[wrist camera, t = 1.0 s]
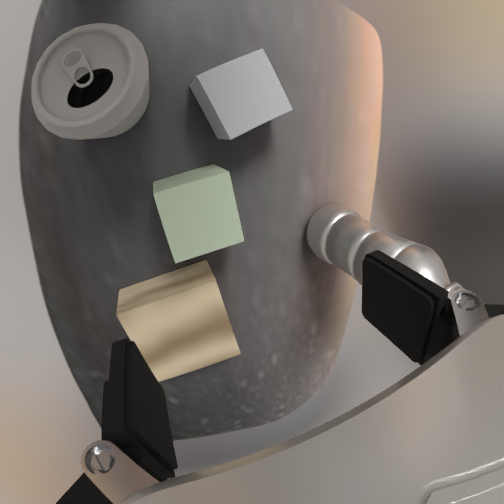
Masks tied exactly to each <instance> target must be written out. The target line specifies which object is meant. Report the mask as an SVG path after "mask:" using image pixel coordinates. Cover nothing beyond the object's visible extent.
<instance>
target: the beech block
mask: <svg viewBox="0 0 504 504" xmlns="http://www.w3.org/2000/svg"><path fill="white" fill-rule="evenodd" d="M116 315H117V317H118V319H119V321H120V323H121V324H122V326H123V328H124V330H125V331H126V333H127V335H128V336H129V338H130V340H131V341H134V342H135V343H136V345H137V347H138V349H139V350H140V352H141V354H142V356H143V357H144V359H145V361H146V362H147V364H148V366H149V367H150V369H151V371H152V372H153V374H154V376H155V377H156V379H157V380H158V382H160V381H163V380H166V379H170V378H173V377H176V376H179V375H182V374H185V373H188V372H191V371H194V370H197V369H200V368H203V367H206V366H209V365H212V364H215V363H217V362H220V361H223V360H226V359H229V358H231V357H234V356H237V355H239V354H241V353H240V350H239V347H238V344H237V342H236V339H235V336H234V333H233V330H232V327H231V324H230V321H229V318H228V315H227V312H226V309H225V306H224V303H223V300H222V297H221V294H220V291H219V288H218V285H217V282H216V279H215V277H214V275H213V273H212V271H211V268H210V266H209V264H208V262H207V260H203V261H201V262H198V263H195V264H192V265H189V266H186V267H183V268H180V269H177V270H175V271H172V272H169V273H166V274H163V275H160V276H157V277H155V278H152V279H149V280H146V281H143V282H140V283H137V284H135V285H132V286H129V287H126V288H123V289H120V290H119V296H118V304H117V312H116Z"/></svg>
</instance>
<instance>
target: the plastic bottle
mask: <svg viewBox="0 0 504 504" xmlns="http://www.w3.org/2000/svg"><path fill="white" fill-rule="evenodd" d="M307 241H308V244H309V246H310V248H311V249H312V251H313V252H314V253H315V255H316V256H317V257H318V258H320V259H321V260H323V261H325V262H327V263H329V264H331V265H334V266H336V267H338V268H339V269H341V270H343V271H344V272H346V273H348V274H349V275H351V276H352V277H353V278H354V279H355V280H357V281H358V282H359V283H360V284H361V285H362V261H363V259H364V257H365V255H366V254H368V253H371V252H373V251H375V250H380V251H381V252H383V253H385V254H387V255H389V256H390V257H392V258H394V259H396V260H397V261H399V262H401V263H402V264H404V265H406V266H408V267H409V268H411V269H413V270H414V271H416V272H418V273H419V274H421V275H423V276H424V277H426V278H428V279H429V280H431V281H433V282H434V283H436V284H438V285H439V286H441V287H442V288H444V289H446V290H447V291H449V293H448V298H449V299H451V297H452V295H453V294H454V293H455V292H458V291H463V290H464V291H467V290H465V289H463V288H462V286H461V285H459V284H458V283H456V282H452V283H450V281H449V278H448V275H447V272H446V269H445V267H444V265H443V263H442V261H441V259H440V258H439V256H438V255H437V254H436V253H435V252H434V251H433V250H432V249H431V248H428V247H426V246H424V245H421V244H418V243H415V242H412V241H409V240H406V239H403V238H399V237H397V236H395V235H393V234H390V233H388V232H385V231H384V230H381V229H379V228H377V227H376V226H374V225H373V224H371V223H370V222H368V221H367V220H365V219H364V218H362V217H361V216H360V215H359V214H358V213H357V212H356V211H354V210H353V209H352V208H350V207H348V206H346V205H343V204H337V203H330V204H326V205H324V206H322V207H321V208H319V209H318V210H317V211H316V212H315V213H314V214H313V215H312V217H311V218H310V221H309V223H308V227H307Z"/></svg>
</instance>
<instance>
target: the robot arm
mask: <svg viewBox="0 0 504 504" xmlns="http://www.w3.org/2000/svg"><path fill="white" fill-rule="evenodd" d="M448 293H449V291H447V290H446V289H444V288H442V287H441V286H439V285H438V284H436V283H434V282H433V281H431V280H429V279H428V278H426V277H424V276H423V275H421V274H419V273H418V272H416V271H414V270H413V269H411V268H409V267H408V266H406V265H404V264H402V263H401V262H399V261H397V260H396V259H394V258H392V257H390V256H389V255H387V254H385V253H383V252H381V251H380V250H375V251H373V252H371V253H368V254H366V255H365V257H364V259H363V261H362V314H363V316H364V317H365V319H367V320H368V321H369V322H370V323H371V324H372V325H373V326H374V327H376V328H377V329H378V330H379V331H380V332H381V333H382V334H383V335H384V336H386V337H387V338H388V339H389V340H390V341H391V342H392V343H393V344H394V345H396V346H397V347H398V348H399V349H400V350H401V351H402V352H403V353H405V354H406V355H407V356H408V357H409V358H410V359H411V360H412V361H413V362H418V363H419V364H420V365H421V366H420V367H419V368H417V369H416V370H415V371H413V372H412V373H410V374H409V375H407V376H406V377H404V378H403V379H401V380H400V381H398V382H397V383H395V384H394V385H392V386H391V387H389V388H387V389H386V390H384V391H383V392H381V393H379V394H378V395H376V396H374V397H373V398H371V399H369V400H368V401H366V402H364V403H363V404H361V405H359V406H357V407H355V408H354V409H352V410H350V411H348V412H346V413H344V414H343V415H341V416H339V417H337V418H335V419H333V420H331V421H329V422H327V423H325V424H323V425H321V426H319V427H316V428H314V429H312V430H310V431H308V432H306V433H304V434H301V435H299V436H297V437H294V438H292V439H290V440H287V441H285V442H283V443H280V444H278V445H275V446H273V447H270V448H267V449H265V450H262V451H259V452H257V453H254V454H251V455H248V456H245V457H242V458H239V459H237V460H233V461H230V462H227V463H224V464H221V465H218V466H215V467H211V468H208V469H204V470H200V471H196V472H193V473H189V474H186V475H182V476H179V477H175V473H174V469H177V468H178V466H177V461H176V456H175V451H174V446H173V441H172V435H171V430H170V424H169V418H168V412H167V406H166V399H165V394H164V391H163V389H162V387H161V385H160V384H159V382H158V380H157V379H156V377H155V376H154V374H153V372H152V371H151V369H150V367H149V366H148V364H147V362H146V361H145V359H144V357H143V356H142V354H141V352H140V350H139V349H138V347H137V345H136V343H135V342H134V341H129V340H128V339H123V340H120V341H116V342H113V344H112V352H111V362H110V374H109V380H108V381H106V382H105V383H104V391H103V408H102V440H98V441H96V442H93V443H91V444H90V445H88V446H87V448H86V449H85V450H84V451H83V454H82V456H81V466H82V469H83V471H84V473H83V474H82V475H81V477H80V478H79V479H78V480H77V481H76V482H75V483H74V484H73V485H72V486H71V487H70V489H69V490H68V491H67V492H66V493H65V494H64V495H63V496H62V497H61V498H60V500H59V501H58V502H57V503H56V504H504V305H490V304H484V303H483V301H482V300H481V298H480V297H479V296H478V295H477V294H475V293H473V292H470V291H464V290H463V291H458V292H455V293H454V294H453V295H452V297H451V299H449V298H448ZM173 477H175V478H173ZM168 478H171V479H168ZM167 479H168V480H167Z"/></svg>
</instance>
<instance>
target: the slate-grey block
mask: <svg viewBox="0 0 504 504" xmlns="http://www.w3.org/2000/svg"><path fill="white" fill-rule="evenodd" d="M189 87H190V88H191V90H192V92H193V94H194V96H195V98H196V99H197V101H198V103H199V105H200V107H201V109H202V110H203V112H204V114H205V116H206V118H207V120H208V122H209V124H210V125H211V127H212V129H213V131H214V133H215V135H216V137H217V139H226V140H232V139H234V138H235V137H237V136H239V135H241V134H243V133H245V132H247V131H249V130H251V129H253V128H255V127H257V126H259V125H261V124H263V123H265V122H267V121H269V120H272V119H274V118H276V117H278V116H280V115H282V114H284V113H287V112H289V111H291V110H293V109H292V107H291V105H290V103H289V101H288V99H287V96H286V94H285V92H284V90H283V88H282V86H281V84H280V82H279V80H278V77H277V75H276V73H275V71H274V69H273V67H272V65H271V63H270V61H269V59H268V58H267V56H266V54H265V52H264V50H263V49H260V50H258V51H255V52H252V53H249V54H247V55H244V56H241V57H239V58H236V59H234V60H231V61H229V62H226V63H224V64H221V65H219V66H217V67H214V68H212V69H210V70H208V71H205V72H203V73H201V74H199V75H197V76H196V77H195V78H194V80H193V81H192V82H191V84H190V85H189Z"/></svg>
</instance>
